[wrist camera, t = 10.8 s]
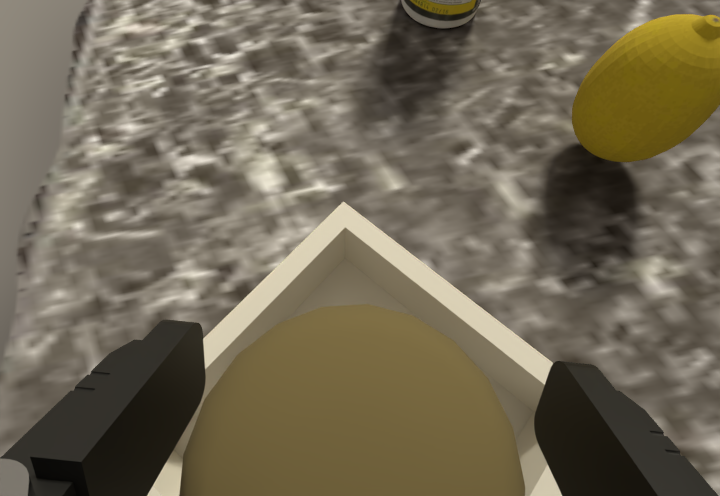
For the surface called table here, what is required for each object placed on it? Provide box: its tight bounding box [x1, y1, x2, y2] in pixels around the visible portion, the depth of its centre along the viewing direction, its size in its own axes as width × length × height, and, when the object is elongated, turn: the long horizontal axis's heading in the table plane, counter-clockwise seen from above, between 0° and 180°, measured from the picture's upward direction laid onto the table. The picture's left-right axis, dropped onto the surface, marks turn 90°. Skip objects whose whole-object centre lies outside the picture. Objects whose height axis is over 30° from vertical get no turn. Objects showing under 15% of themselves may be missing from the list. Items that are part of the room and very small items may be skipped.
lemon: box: [572, 14, 720, 162], centre depth 19 cm, size 6×6×8 cm
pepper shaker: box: [179, 304, 525, 496], centre depth 10 cm, size 6×6×11 cm
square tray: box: [147, 202, 562, 496], centre depth 14 cm, size 12×12×4 cm
